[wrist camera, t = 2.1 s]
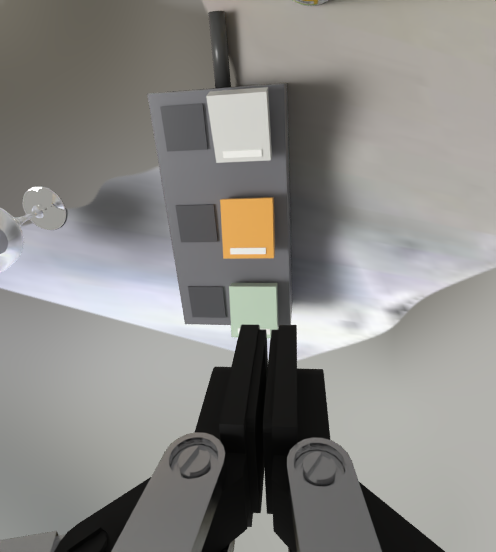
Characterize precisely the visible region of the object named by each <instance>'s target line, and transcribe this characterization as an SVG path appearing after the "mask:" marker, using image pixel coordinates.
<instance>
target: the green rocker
mask: <svg viewBox="0 0 496 552" xmlns="http://www.w3.org/2000/svg"><path fill="white" fill-rule="evenodd" d="M229 296H230V316H231V335H232V337H238V336H239V332H240V327H241V325H242V324H245V325H259V326H260V329H266V333H267V338H271V330H278V289H277V283H231V284H230V286H229Z"/></svg>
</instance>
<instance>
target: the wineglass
mask: <svg viewBox="0 0 496 552" xmlns="http://www.w3.org/2000/svg"><path fill="white" fill-rule="evenodd" d="M23 208H24V211H25V213H26V215H25V216H22V217H18V218H13V216H12V215H10V214H9V213H8V212H6V211H5V210H4V209H2V208H0V273H1V272H3V271H5V270H6V269H8V268H9V267H10V266H12V265H13V264H14V263H15V262H16V260H17V259H18V258H19V257H20V255H21V253H22V250H23V245H24V238H23V233H22V230H21V225H22V224H23V223H24V222H25V221H27V220H29V219H30V220H31V222H33V223H34V224H35V225H36V226H38V227H40V228H42V229H45V230H55V229H58V228H60V227H61V226H62V225H63V224H64V222H65V220H66V208H65V205H64V203H63V201H62V200H61V198H60V197H59V196H58V195H57V194H56V193H55V192H54V191H52V190H50V189H49V188H46V187H42V186H35V187H32V188H30V189H29V190H27V192H26V193H25V195H24V197H23Z"/></svg>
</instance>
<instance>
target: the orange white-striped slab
mask: <svg viewBox="0 0 496 552" xmlns="http://www.w3.org/2000/svg"><path fill="white" fill-rule="evenodd" d="M220 206H221V225H222V243H223V259H244V258H274V257H275V228H274V197H261V198H228V199H221V200H220Z"/></svg>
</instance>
